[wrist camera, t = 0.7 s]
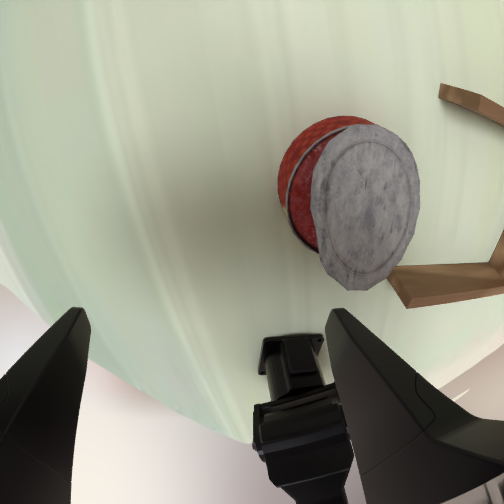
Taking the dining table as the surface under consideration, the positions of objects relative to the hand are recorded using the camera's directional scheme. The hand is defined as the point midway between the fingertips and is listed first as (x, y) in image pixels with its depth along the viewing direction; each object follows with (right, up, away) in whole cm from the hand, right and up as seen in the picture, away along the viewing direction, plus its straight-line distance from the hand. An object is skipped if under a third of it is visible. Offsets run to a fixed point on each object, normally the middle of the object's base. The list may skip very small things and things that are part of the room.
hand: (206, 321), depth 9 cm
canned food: (+8, +8, +12) cm, 16 cm away
